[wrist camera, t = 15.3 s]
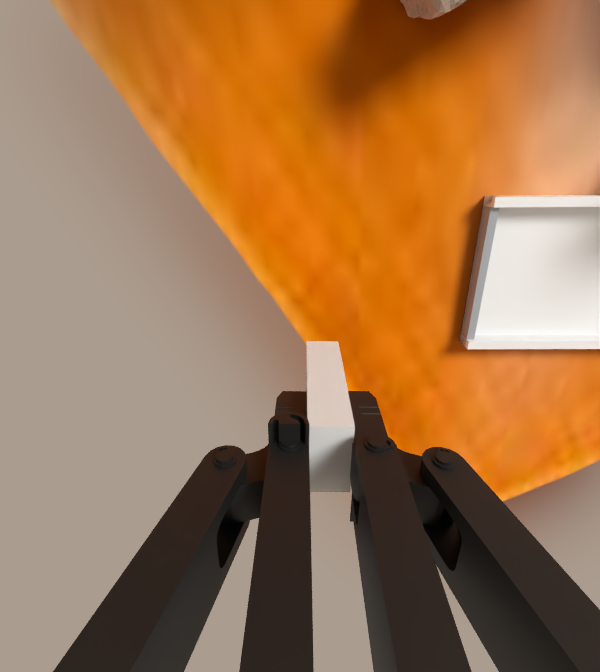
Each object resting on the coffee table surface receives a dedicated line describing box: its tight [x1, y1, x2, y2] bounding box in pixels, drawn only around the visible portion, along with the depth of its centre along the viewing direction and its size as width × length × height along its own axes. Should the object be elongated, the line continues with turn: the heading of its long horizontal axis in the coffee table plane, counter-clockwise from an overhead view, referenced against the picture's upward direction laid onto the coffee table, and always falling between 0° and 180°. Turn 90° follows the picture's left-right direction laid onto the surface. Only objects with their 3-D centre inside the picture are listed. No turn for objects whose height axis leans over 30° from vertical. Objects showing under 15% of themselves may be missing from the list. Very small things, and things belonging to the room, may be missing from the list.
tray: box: [460, 195, 600, 349], centre depth 34 cm, size 14×18×2 cm
